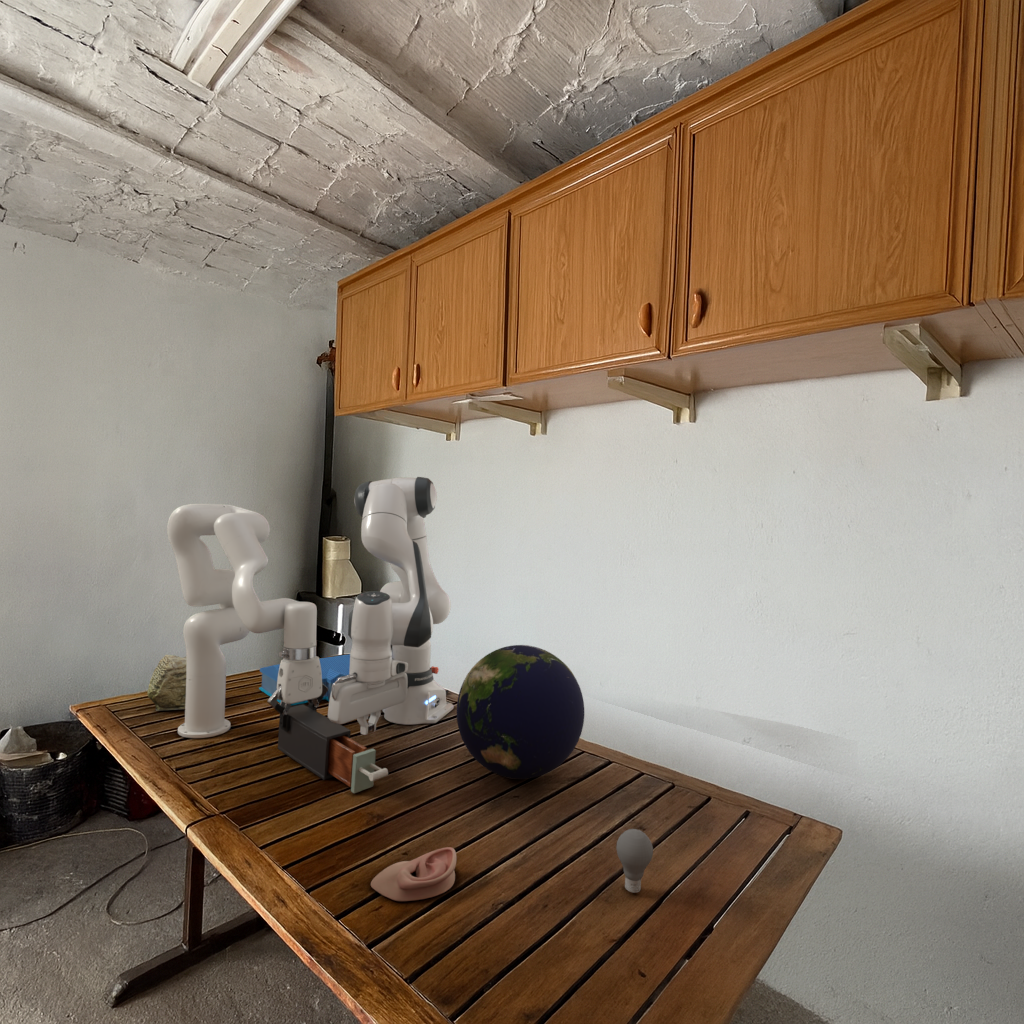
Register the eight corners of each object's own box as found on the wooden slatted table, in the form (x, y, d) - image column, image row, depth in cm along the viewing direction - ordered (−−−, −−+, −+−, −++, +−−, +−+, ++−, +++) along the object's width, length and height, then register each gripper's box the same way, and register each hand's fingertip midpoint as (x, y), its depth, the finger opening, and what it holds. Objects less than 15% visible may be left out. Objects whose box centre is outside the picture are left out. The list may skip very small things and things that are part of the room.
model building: (289, 709, 186) (291, 675, 185) (258, 688, 204) (259, 657, 204) (403, 687, 212) (405, 657, 212) (366, 670, 230) (368, 643, 230)
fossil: (144, 707, 182) (145, 655, 182) (212, 696, 194) (213, 647, 194) (151, 716, 175) (153, 662, 175) (221, 703, 188) (223, 653, 188)
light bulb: (610, 879, 108) (613, 822, 108) (644, 879, 109) (647, 822, 109) (619, 902, 102) (622, 840, 102) (655, 901, 103) (658, 840, 103)
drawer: (388, 795, 135) (391, 758, 135) (369, 803, 132) (371, 765, 131) (324, 755, 152) (326, 722, 151) (305, 761, 148) (307, 727, 148)
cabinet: (347, 772, 146) (350, 730, 146) (324, 780, 142) (327, 737, 141) (300, 742, 160) (303, 704, 159) (277, 749, 155) (279, 709, 155)
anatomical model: (363, 870, 101) (391, 834, 112) (362, 895, 101) (390, 856, 113) (442, 884, 99) (463, 845, 110) (441, 909, 99) (462, 868, 110)
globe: (430, 785, 141) (436, 651, 140) (486, 740, 168) (491, 628, 168) (558, 816, 130) (565, 670, 129) (595, 762, 157) (601, 642, 157)
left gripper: (274, 661, 146) (272, 739, 146) (339, 650, 159) (337, 721, 159) (258, 656, 151) (256, 731, 151) (322, 645, 164) (320, 714, 164)
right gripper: (343, 682, 125) (341, 751, 126) (413, 662, 143) (410, 723, 143) (322, 676, 129) (319, 743, 129) (392, 657, 146) (390, 717, 146)
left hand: (298, 725), depth 155 cm, fingers closed on cabinet, 6 cm apart
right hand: (368, 732), depth 136 cm, fingers closed
